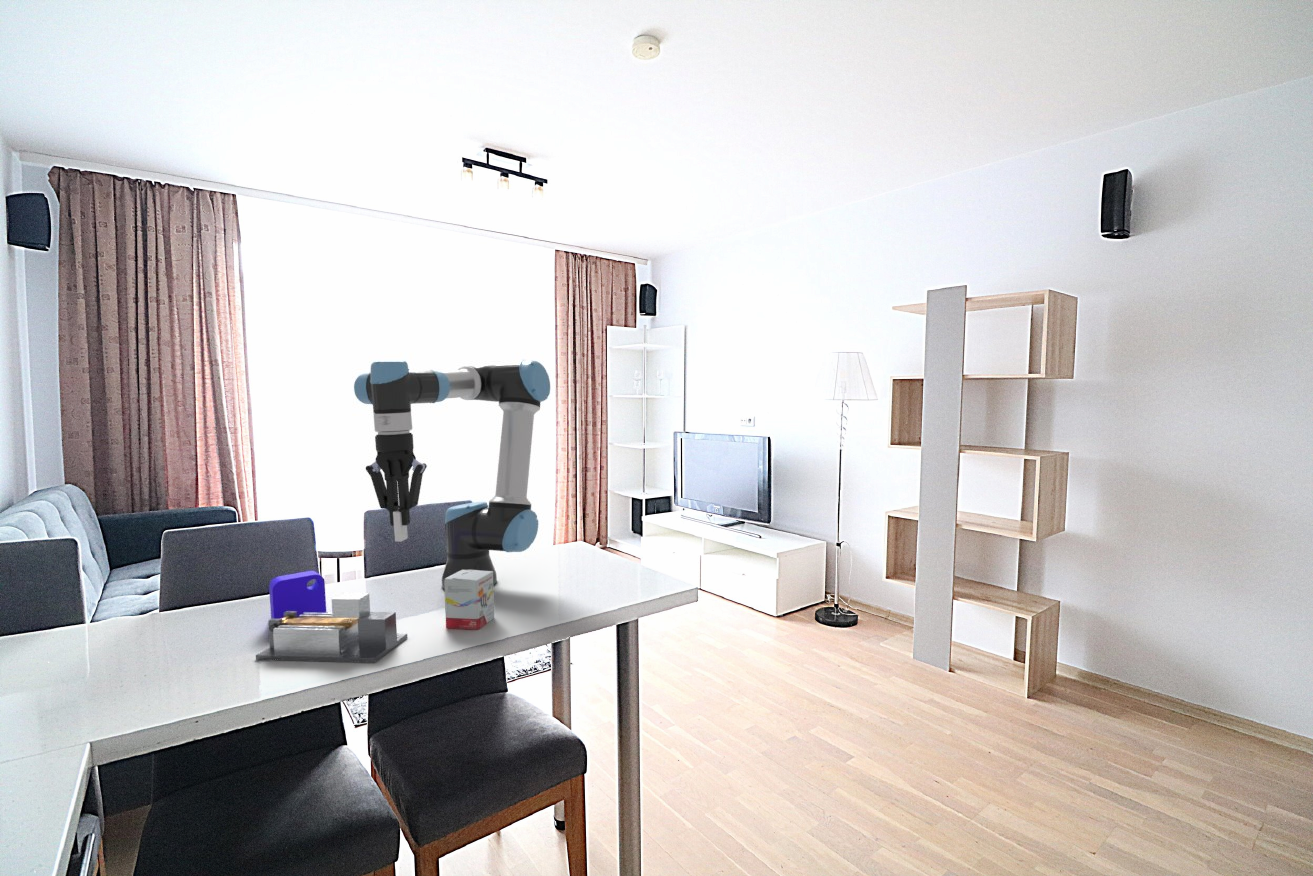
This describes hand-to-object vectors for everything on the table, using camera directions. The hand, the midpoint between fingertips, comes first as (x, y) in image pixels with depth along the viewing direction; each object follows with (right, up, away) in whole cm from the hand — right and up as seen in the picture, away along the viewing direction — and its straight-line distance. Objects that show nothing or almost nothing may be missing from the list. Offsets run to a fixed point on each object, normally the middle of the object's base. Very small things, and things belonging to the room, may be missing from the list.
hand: (401, 539), depth 135 cm
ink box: (+12, -22, +11) cm, 27 cm away
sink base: (-14, -23, -3) cm, 27 cm away
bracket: (-34, -22, +18) cm, 45 cm away
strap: (-17, -18, -3) cm, 25 cm away
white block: (-9, -15, -4) cm, 18 cm away
